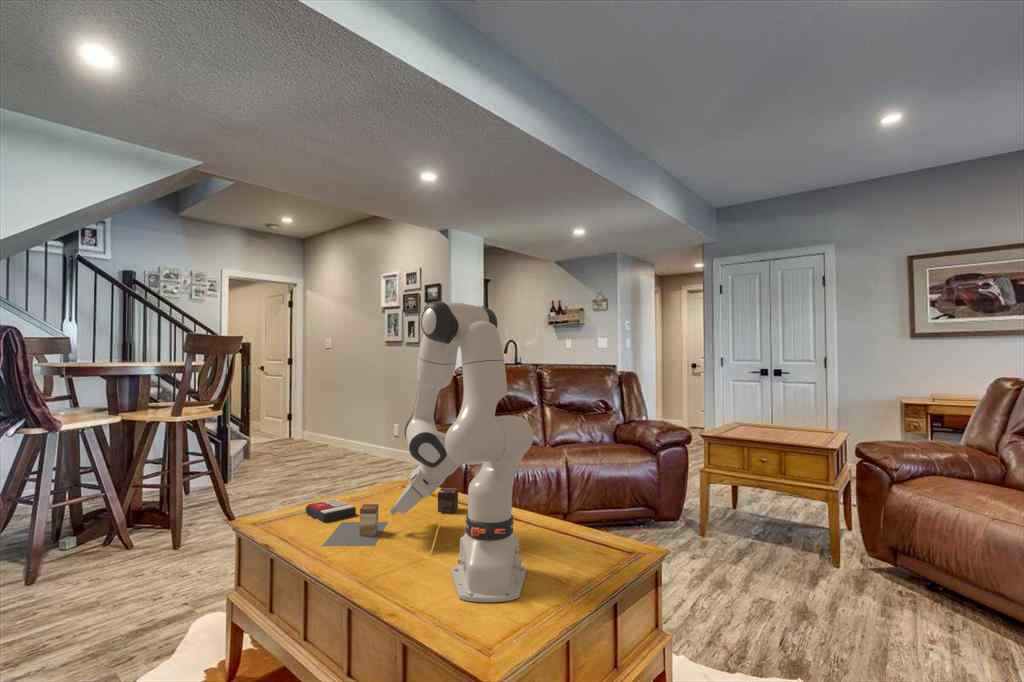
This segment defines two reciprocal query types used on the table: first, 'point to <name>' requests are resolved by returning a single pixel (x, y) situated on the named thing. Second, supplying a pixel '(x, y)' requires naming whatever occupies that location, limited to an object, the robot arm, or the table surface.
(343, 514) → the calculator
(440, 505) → the box
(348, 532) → the mat
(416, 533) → the table surface
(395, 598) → the table surface
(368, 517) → the block
